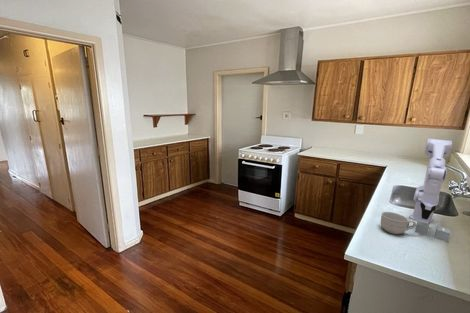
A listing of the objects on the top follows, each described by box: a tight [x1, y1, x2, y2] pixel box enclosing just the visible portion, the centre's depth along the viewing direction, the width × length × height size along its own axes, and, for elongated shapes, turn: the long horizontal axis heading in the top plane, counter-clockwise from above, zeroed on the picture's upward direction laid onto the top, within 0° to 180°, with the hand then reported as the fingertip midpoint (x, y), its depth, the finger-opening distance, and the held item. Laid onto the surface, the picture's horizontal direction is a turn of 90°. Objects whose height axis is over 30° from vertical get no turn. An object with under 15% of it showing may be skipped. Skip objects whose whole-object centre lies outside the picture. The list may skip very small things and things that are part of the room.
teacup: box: [380, 211, 417, 235], centre depth 110 cm, size 14×11×8 cm
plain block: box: [414, 220, 430, 236], centre depth 111 cm, size 4×4×4 cm
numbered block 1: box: [434, 225, 451, 243], centre depth 106 cm, size 4×4×5 cm
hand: (424, 218), depth 110 cm, fingers closed
